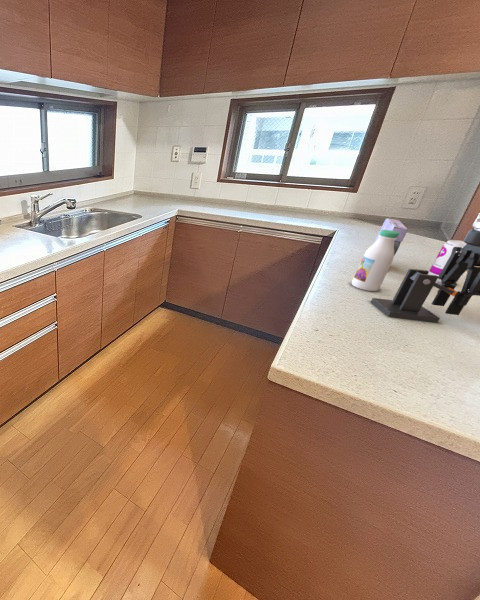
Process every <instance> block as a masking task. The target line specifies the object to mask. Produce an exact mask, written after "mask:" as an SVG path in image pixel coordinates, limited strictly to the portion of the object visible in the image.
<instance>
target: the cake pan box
mask: <svg viewBox="0 0 480 600" xmlns="http://www.w3.org/2000/svg"><path fill="white" fill-rule="evenodd" d="M381 230H391V231H396V232H399V235H398V237H397V239H396V240H395V241H394V257H395V255H396V254H397V252H398V250H399V248H400V247H401V244H402V242H403V241H404V239H405V237H406V235H407V233H408V231H409V229H408V228H407V227H406V225H404V224H403V223H402V222H401V221H400V220H399V219H393V218H389V217H388V218H387V217H386V218H385V219H384V222H383V224H382V226H381V227H380V229H379V232H378V234H377V235H376V238H375V239H374V241H373V244H374V243H375V242H376V241H377V240H378V238H379V234H380V232H381Z"/></svg>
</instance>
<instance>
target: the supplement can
mask: <svg viewBox="0 0 480 600" xmlns="http://www.w3.org/2000/svg"><path fill="white" fill-rule="evenodd" d="M465 245H466V243H465V242H464V240H459V239H448V240H447V241H446V242H444V243H443V245H442V246H441V249H440V250H439V252H438V254H437V256H436V258H435V259H434V261H433V263H432V265H431V267H430V268H429V270H428V271H429V272H428V275H437V276H439V275H440V273H441V271H442V269H443V268H444V266H445V264H446V263H447V261H448V259H449V257H450V256H451V253H452V249H453V247H464V246H465ZM445 276H446V275H445ZM460 279H461V277H460V278H459V279H458V280H457V281H456V283H457V284H458V283H459V280H460ZM441 281H442V280H441V279H437V280H436V282H435V283H437V284H439V285H442V283H441Z"/></svg>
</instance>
